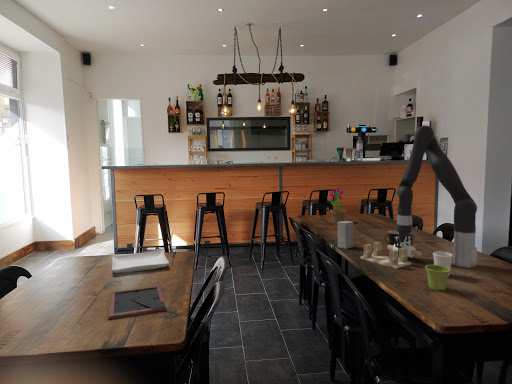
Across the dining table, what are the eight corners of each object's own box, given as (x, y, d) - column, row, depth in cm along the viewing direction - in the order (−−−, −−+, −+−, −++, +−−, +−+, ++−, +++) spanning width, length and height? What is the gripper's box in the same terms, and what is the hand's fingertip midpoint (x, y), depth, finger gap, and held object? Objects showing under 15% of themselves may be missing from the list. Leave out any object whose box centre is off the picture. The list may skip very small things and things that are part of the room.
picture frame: (167, 312, 131) (160, 289, 155) (166, 306, 131) (160, 284, 155) (108, 321, 124) (111, 295, 148) (108, 315, 124) (110, 291, 148)
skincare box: (346, 249, 214) (346, 223, 213) (336, 247, 220) (336, 221, 218) (354, 246, 219) (354, 221, 218) (344, 244, 225) (345, 220, 223)
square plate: (163, 256, 206) (162, 249, 206) (169, 269, 181) (169, 262, 180) (112, 262, 196) (112, 255, 196) (112, 277, 171) (111, 269, 171)
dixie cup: (452, 279, 160) (453, 257, 159) (431, 276, 164) (432, 254, 163) (452, 273, 167) (453, 252, 166) (432, 271, 171) (433, 250, 170)
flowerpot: (343, 220, 310) (344, 186, 307) (349, 223, 295) (349, 187, 293) (327, 221, 309) (327, 186, 306) (332, 224, 294) (332, 188, 292)
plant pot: (452, 287, 149) (453, 267, 149) (446, 294, 142) (447, 273, 142) (428, 282, 156) (429, 263, 155) (421, 288, 149) (422, 268, 148)
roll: (423, 258, 186) (424, 247, 186) (417, 260, 183) (417, 248, 183) (392, 251, 202) (392, 241, 202) (385, 253, 199) (385, 242, 198)
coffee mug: (400, 247, 218) (401, 230, 217) (405, 250, 209) (405, 233, 208) (381, 246, 219) (381, 230, 218) (384, 250, 210) (385, 233, 209)
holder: (410, 264, 182) (411, 249, 181) (396, 268, 176) (396, 252, 175) (375, 255, 200) (375, 241, 200) (360, 258, 194) (360, 244, 193)
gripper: (402, 226, 184) (402, 258, 186) (418, 222, 192) (418, 253, 194) (389, 224, 190) (389, 255, 192) (406, 221, 198) (405, 250, 200)
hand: (404, 254), depth 193 cm, fingers closed on roll, 6 cm apart
